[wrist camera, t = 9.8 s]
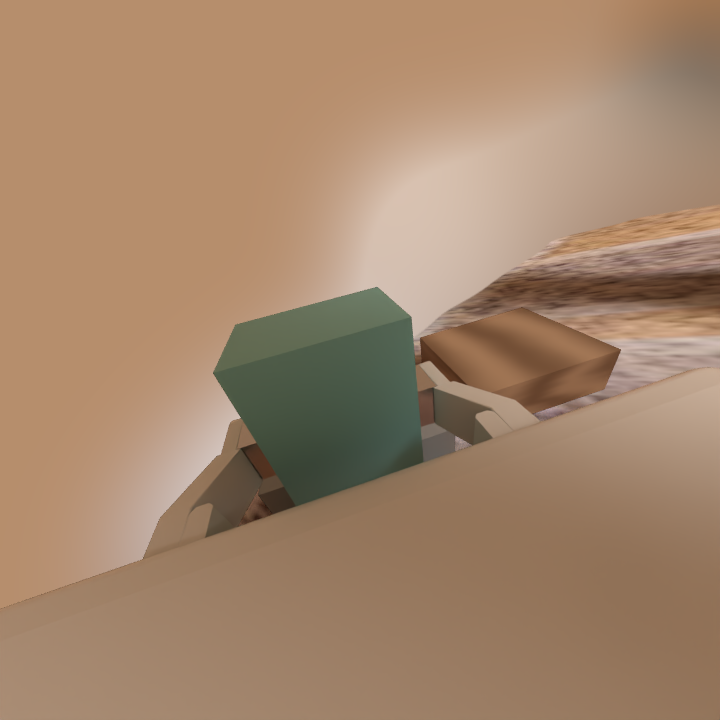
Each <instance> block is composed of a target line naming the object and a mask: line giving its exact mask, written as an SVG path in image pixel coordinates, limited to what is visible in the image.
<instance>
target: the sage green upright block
mask: <svg viewBox="0 0 720 720" xmlns="http://www.w3.org/2000/svg"><path fill="white" fill-rule="evenodd" d="M213 374H214V375H215V377H216V379H217V380H218V382H219V383H220V385H221V387H222V388H223V390H224V391H225V393H226V394H227V396H228V398H229V399H230V401H231V403H232V404H233V406H234V407H235V409H236V410H237V412H238V414H239V415H240V417H241V419H242V420H243V422H244V423H245V425H246V427H247V428H248V430H249V431H250V433H251V435H252V436H253V438H254V439H255V441H256V443H257V444H258V446H259V447H260V449H261V451H262V452H263V454H264V456H265V457H266V459H267V460H268V462H269V464H270V465H271V467H272V468H273V470H274V472H275V473H276V475H277V476H278V478H279V480H280V481H281V483H282V484H283V486H284V488H285V489H286V491H287V492H288V494H289V496H290V497H291V499H292V500H293V502H294V504H295V505H296V506H299V505H302V504H304V503H307V502H310V501H313V500H316V499H319V498H322V497H325V496H328V495H330V494H333V493H336V492H339V491H342V490H345V489H348V488H351V487H354V486H356V485H359V484H362V483H365V482H368V481H371V480H374V479H377V478H380V477H382V476H385V475H388V474H391V473H394V472H397V471H400V470H403V469H406V468H409V467H411V466H414V465H417V464H420V463H423V462H424V459H423V448H422V436H421V424H420V413H419V401H418V389H417V378H416V366H415V354H414V343H413V331H412V319H411V316H410V315H408V314H407V313H406V312H405V311H404V310H403V309H402V308H401V307H399V306H398V305H397V304H396V303H395V302H394V301H393V300H392V299H390V298H389V297H388V296H387V295H386V294H384V292H382V291H381V290H380V289H379V288H378V287H375V288H372V289H368V290H364V291H360V292H357V293H353V294H349V295H345V296H341V297H338V298H334V299H331V300H327V301H323V302H319V303H315V304H311V305H308V306H304V307H300V308H296V309H293V310H289V311H285V312H281V313H278V314H274V315H270V316H266V317H263V318H259V319H255V320H251V321H248V322H244V323H240V324H237V325H235V327H234V329H233V331H232V333H231V335H230V338H229V340H228V342H227V344H226V346H225V348H224V351H223V353H222V355H221V357H220V359H219V361H218V364H217V366H216V368H215V370H214V372H213Z"/></svg>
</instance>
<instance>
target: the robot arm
mask: <svg viewBox="0 0 720 720" xmlns="http://www.w3.org/2000/svg"><path fill="white" fill-rule="evenodd" d="M416 378H417V389H418V401H419V413H420V424H421V427H422V426H426V425H429V424H432V423H435V424H437V425H438V426H440V427H442V428H443V429H445V430H447V431H449V432H450V433H452V434H454V435H456V436H457V437H459V438H461V439H463V440H464V441H466V442H468V443H469V444H471V445H472V446H469V447H466V448H464V449H461V450H458V451H455V452H452V453H449V454H446V455H443V456H440V457H437V458H435V459H432V460H429V461H426V462H423V463H420V464H417V465H414V466H411V467H409V468H406V469H403V470H400V471H397V472H394V473H391V474H388V475H385V476H382V477H380V478H377V479H374V480H371V481H368V482H365V483H362V484H359V485H356V486H354V487H351V488H348V489H345V490H342V491H339V492H336V493H333V494H330V495H328V496H325V497H322V498H319V499H316V500H313V501H310V502H307V503H304V504H302V505H299V506H296V507H293V508H290V509H287V510H284V511H281V512H278V513H276V514H273V515H270V516H267V517H264V518H261V519H258V520H255V521H252V522H250V523H247V524H244V525H241V526H238V525H239V523H240V521H241V520H242V518H243V516H244V514H245V512H246V511H247V509H248V507H249V505H250V504H251V502H252V500H253V498H254V496H255V495H256V493H257V491H258V489H259V487H260V486H261V484H262V482H263V479H266V478H269V477H272V476H275V475H276V473H275V472H274V470H273V468H272V467H271V465H270V464H269V462H268V460H267V459H266V457H265V456H264V454H263V452H262V451H261V449H260V447H259V446H258V444H257V443H256V441H255V439H254V438H253V436H252V435H251V433H250V431H249V430H248V428H247V427H246V425H245V423H244V422H243V420H242V419H241V418H240V419H237V420H234V421H232V422H231V423H230V425H229V428H228V432H227V435H226V439H225V442H224V446H223V449H222V453H221V455H219V456H216V458H215V459H214V460H213V461H212V462H211V463H210V464H209V465H208V466H207V467H206V468H205V470H204V471H203V472H202V473H201V474H200V475H199V476H198V477H197V478H196V479H195V480H194V481H193V483H192V484H191V485H190V486H189V487H188V488H187V489H186V490H185V491H184V493H182V495H181V496H180V497H179V498H178V499H177V500H176V501H175V503H173V504H172V505H171V507H170V508H169V509H168V510H167V511H166V512H165V513H164V514H163V515H162V516H161V517H160V519H159V521H158V524H157V526H156V529H155V531H154V533H153V536H152V538H151V541H150V543H149V545H148V548H147V550H146V553H145V555H144V557H143V559H142V560H140V561H137V562H134V563H131V564H128V565H125V566H123V567H120V568H117V569H114V570H111V571H108V572H105V573H102V574H99V575H96V576H93V577H91V578H88V579H85V580H82V581H79V582H76V583H73V584H70V585H67V586H65V587H62V588H59V589H56V590H53V591H50V592H47V593H44V594H41V595H39V596H36V597H33V598H30V599H27V600H24V601H21V602H18V603H16V604H13V605H10V606H7V607H4V608H1V609H0V720H720V368H711V367H705V368H697V369H693V370H689V371H686V372H683V373H680V374H677V375H674V376H671V377H669V378H666V379H663V380H660V381H657V382H654V383H651V384H648V385H646V386H643V387H640V388H637V389H634V390H631V391H628V392H625V393H622V394H620V395H617V396H614V397H611V398H608V399H605V400H602V401H599V402H596V403H594V404H591V405H588V406H585V407H582V408H579V409H576V410H573V411H570V412H568V413H565V414H562V415H559V416H556V417H553V418H550V419H547V420H544V421H542V422H541V421H539V420H538V419H537V418H536V417H535V416H534V415H532V414H531V413H530V412H529V411H528V410H526V409H525V408H524V407H523V406H522V405H521V404H519V403H518V402H517V401H516V400H513V399H510V398H507V397H504V396H500V395H497V394H494V393H491V392H487V391H484V390H481V389H478V388H474V387H471V386H468V385H465V384H461V383H458V382H455V381H452V382H450V381H449V380H448V379H447V378H446V377H445V376H444V375H443V374H442V373H441V372H440V371H439V370H438V369H437V368H436V367H435V366H434V364H433V363H432V362H430V361H427V362H424V363H421V364H418V365H416Z"/></svg>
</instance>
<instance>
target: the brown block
mask: <svg viewBox="0 0 720 720" xmlns="http://www.w3.org/2000/svg"><path fill="white" fill-rule="evenodd" d="M420 344H421V358H422V363H424V362H427V361H430V362H432V363H433V364H434V366H435V367H436V368H437V369H438V370H439V371H440V372H441V373H442V374H443V375H444V376H445V377H446V378H447V379H448V380H449V381H450V382H452V381H455V382H458V383H461V384H465V385H468V386H471V387H474V388H478V389H481V390H484V391H487V392H491V393H494V394H497V395H500V396H504V397H507V398H510V399H513V400H516V401H517V402H518V403H519V404H521V405H522V406H523V407H524V408H525V409H526V410H528V411H529V412H530V413H531V414H533V413H536V412H539V411H542V410H545V409H548V408H551V407H554V406H557V405H560V404H563V403H565V402H568V401H571V400H574V399H577V398H580V397H583V396H586V395H589V394H592V393H595V392H597V391H600V390H603V389H605V386H606V384H607V382H608V379H609V377H610V375H611V372H612V370H613V368H614V365H615V363H616V361H617V358H618V356H619V354H620V351H621V349H618V348H616V347H614V346H611V345H609V344H607V343H604V342H602V341H600V340H597V339H595V338H593V337H590V336H588V335H586V334H583V333H581V332H579V331H576V330H574V329H572V328H569V327H567V326H565V325H562V324H560V323H558V322H555V321H553V320H551V319H548V318H546V317H544V316H541V315H539V314H537V313H534V312H532V311H530V310H527V309H525V308H523V307H521V308H518V309H515V310H511V311H508V312H505V313H501V314H498V315H495V316H491V317H488V318H485V319H481V320H478V321H475V322H471V323H468V324H464V325H461V326H458V327H454V328H451V329H448V330H444V331H441V332H438V333H434V334H431V335H428V336H424V337H421V338H420Z"/></svg>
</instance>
